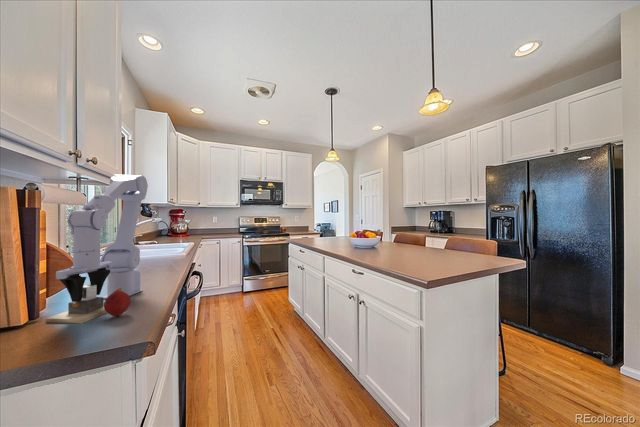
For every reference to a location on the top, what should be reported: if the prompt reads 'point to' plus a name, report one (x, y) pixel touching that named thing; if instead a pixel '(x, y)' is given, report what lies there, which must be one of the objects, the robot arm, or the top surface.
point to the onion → (117, 303)
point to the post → (89, 293)
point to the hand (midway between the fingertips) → (86, 297)
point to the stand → (80, 312)
